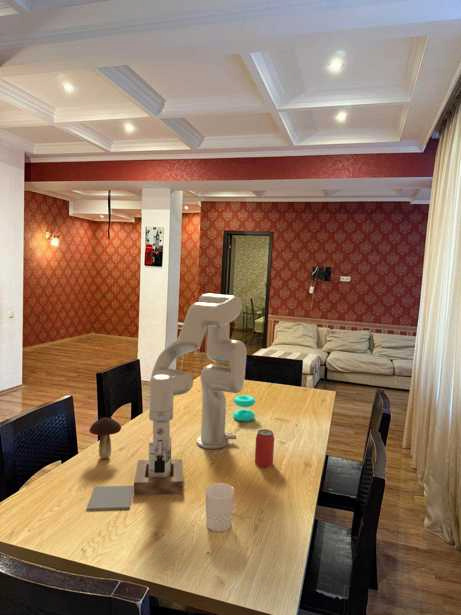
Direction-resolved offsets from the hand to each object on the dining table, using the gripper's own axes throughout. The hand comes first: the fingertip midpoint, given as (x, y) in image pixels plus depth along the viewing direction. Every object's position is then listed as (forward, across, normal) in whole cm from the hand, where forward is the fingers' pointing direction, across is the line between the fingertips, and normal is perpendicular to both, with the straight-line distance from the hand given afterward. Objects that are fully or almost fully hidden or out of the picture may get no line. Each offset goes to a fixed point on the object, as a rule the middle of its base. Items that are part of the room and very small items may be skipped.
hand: (160, 466), depth 139 cm
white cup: (+6, -24, -17) cm, 30 cm away
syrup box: (+5, 0, 0) cm, 5 cm away
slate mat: (+5, -9, +14) cm, 18 cm away
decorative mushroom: (+6, +18, +20) cm, 27 cm away
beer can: (+6, +11, -37) cm, 39 cm away
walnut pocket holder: (+5, 0, 0) cm, 5 cm away
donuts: (+6, +57, -37) cm, 68 cm away
